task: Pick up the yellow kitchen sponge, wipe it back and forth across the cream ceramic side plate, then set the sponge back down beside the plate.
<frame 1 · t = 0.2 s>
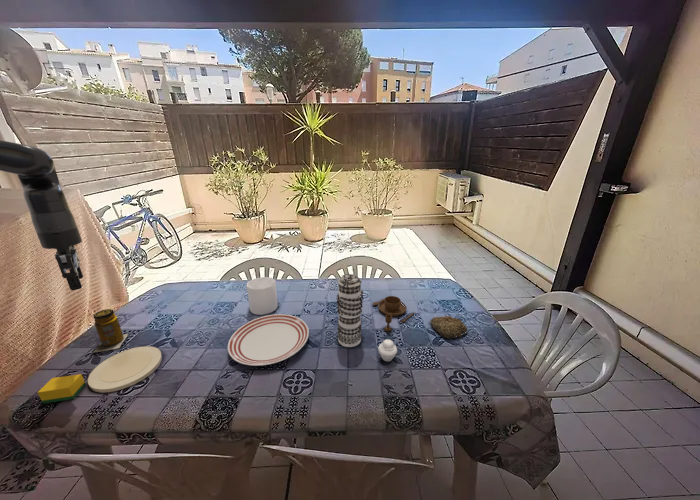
hand: (77, 283, 76), 29 cm above the table, tool pointing down, fingers open, 8 cm apart
dinner plate: (270, 343, 96), on the table
cup: (264, 307, 118), on the table
decorative candle: (349, 339, 98), on the table
side plate: (127, 368, 85), on the table
white lidded jar: (387, 358, 89), on the table
sponge: (65, 393, 76), on the table
mossy brown rock: (449, 329, 105), on the table
condiment: (112, 343, 96), on the table
place setting: (386, 314, 114), on the table
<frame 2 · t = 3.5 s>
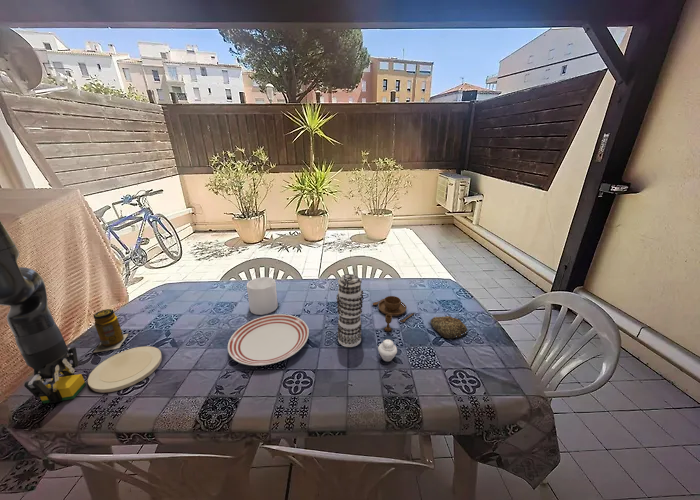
hand: (64, 392, 76), 0 cm above the table, tool pointing down, fingers closed on sponge, 5 cm apart
sponge: (65, 393, 76), on the table, touching gripper
everything else where it was.
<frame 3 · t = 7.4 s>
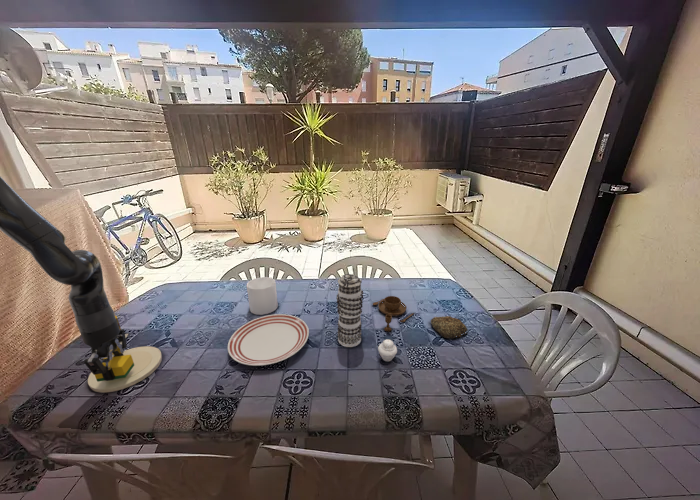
hand: (116, 372, 79), 3 cm above the table, tool pointing down, fingers closed on sponge, 5 cm apart
sponge: (116, 373, 79), point 3 cm above the table, touching gripper
everything else where it was.
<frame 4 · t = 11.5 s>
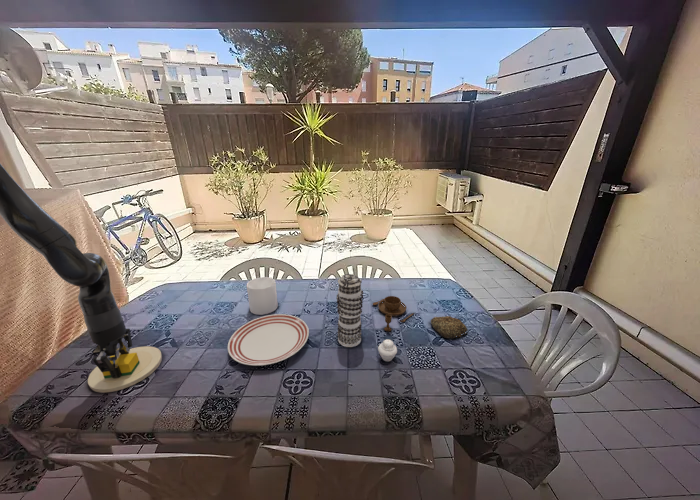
hand: (122, 369, 82), 2 cm above the table, tool pointing down, fingers closed on sponge, 5 cm apart
sponge: (122, 370, 82), point 1 cm above the table, touching gripper
everything else where it was.
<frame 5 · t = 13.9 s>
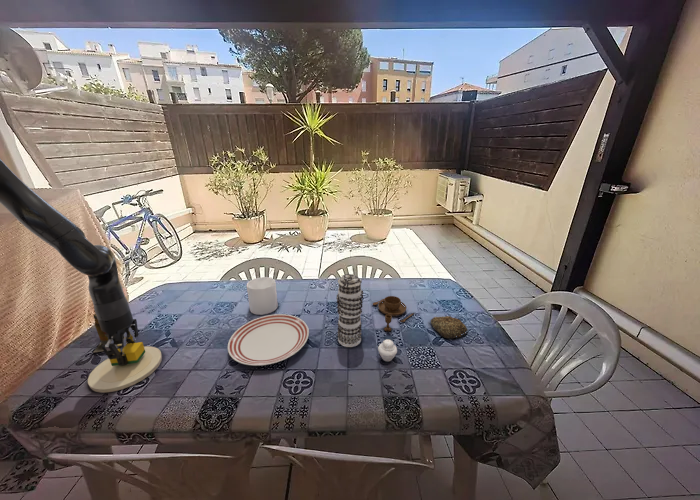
hand: (128, 358, 86), 2 cm above the table, tool pointing down, fingers closed on sponge, 5 cm apart
sponge: (129, 358, 86), point 2 cm above the table, touching gripper
everything else where it was.
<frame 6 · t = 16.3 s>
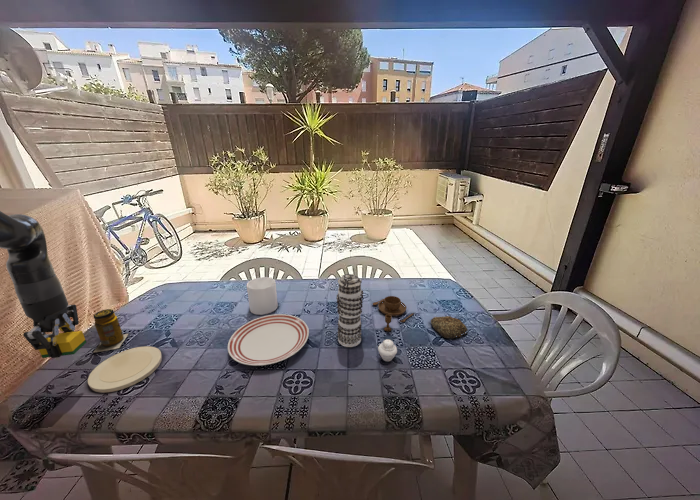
hand: (64, 349, 74), 13 cm above the table, tool pointing down, fingers closed on sponge, 5 cm apart
sponge: (65, 350, 74), point 13 cm above the table, touching gripper
everything else where it was.
when the fingers open (0 cm above the table, at t = 20.0 s): sponge stays where it is, on the table.
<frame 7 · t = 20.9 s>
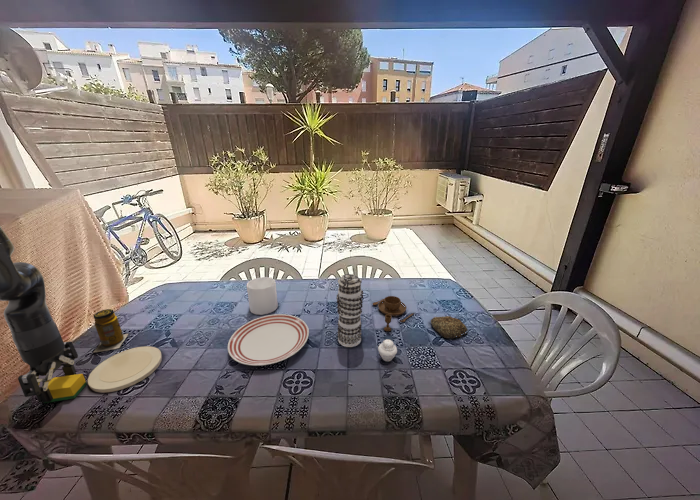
hand: (60, 388, 75), 2 cm above the table, tool pointing down, fingers open, 8 cm apart
sponge: (66, 393, 76), on the table
everything else where it was.
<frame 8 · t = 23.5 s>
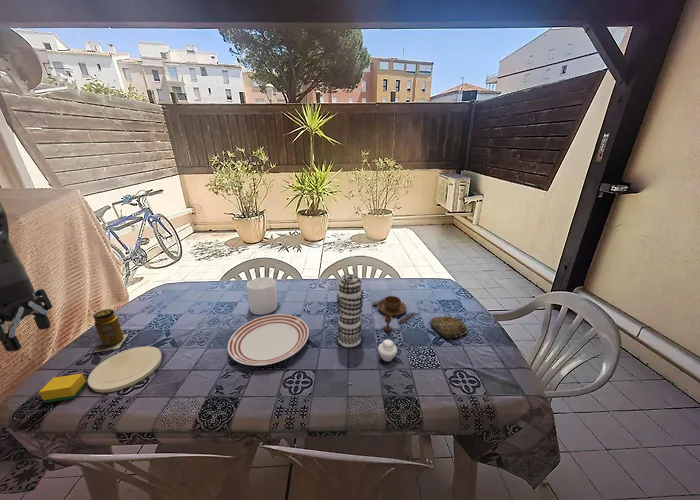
hand: (30, 338, 67), 20 cm above the table, tool pointing down, fingers open, 8 cm apart
nothing on the table moved.
at the end: sponge inside the target area (0.2 cm from its centre), on the table; the gripper is holding nothing; side plate moved 0.0 cm from its start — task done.
